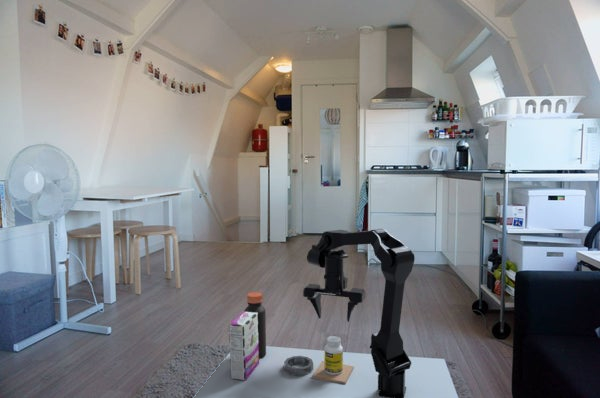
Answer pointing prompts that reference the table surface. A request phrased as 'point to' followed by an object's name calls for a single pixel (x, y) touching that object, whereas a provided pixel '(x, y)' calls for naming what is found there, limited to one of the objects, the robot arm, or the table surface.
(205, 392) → the table surface
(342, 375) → the mat
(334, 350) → the supplement bottle
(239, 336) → the candy bar box
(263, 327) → the vinegar
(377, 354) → the robot arm
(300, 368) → the collar
